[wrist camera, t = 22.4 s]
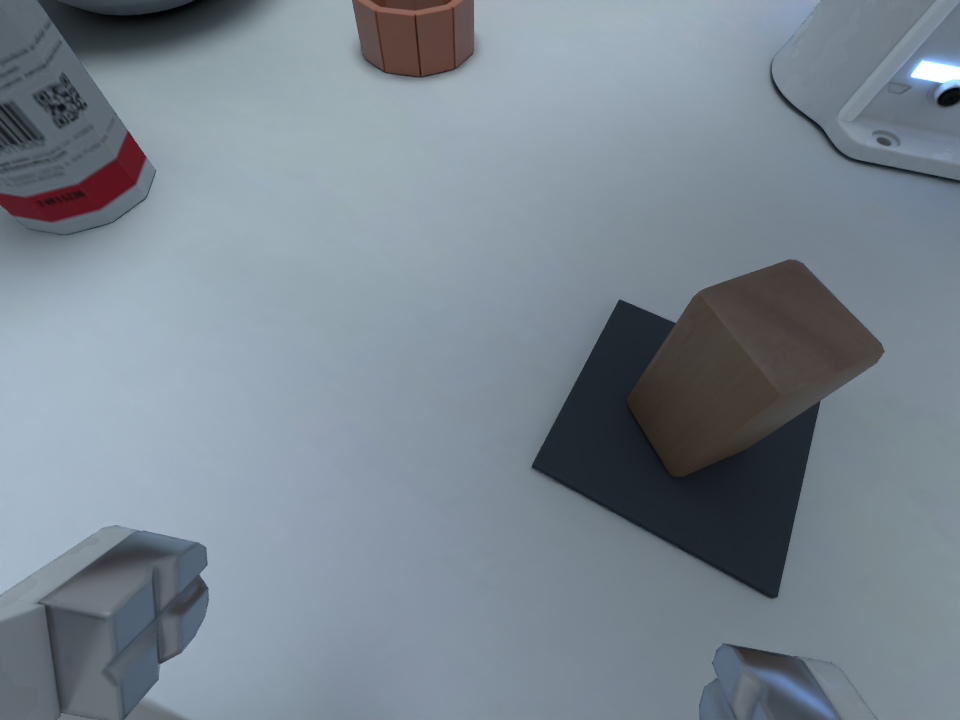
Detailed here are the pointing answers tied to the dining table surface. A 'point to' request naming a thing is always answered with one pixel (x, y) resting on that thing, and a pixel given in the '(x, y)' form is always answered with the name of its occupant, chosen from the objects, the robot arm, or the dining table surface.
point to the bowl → (125, 6)
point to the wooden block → (747, 365)
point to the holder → (415, 34)
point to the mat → (647, 483)
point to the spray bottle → (59, 133)
